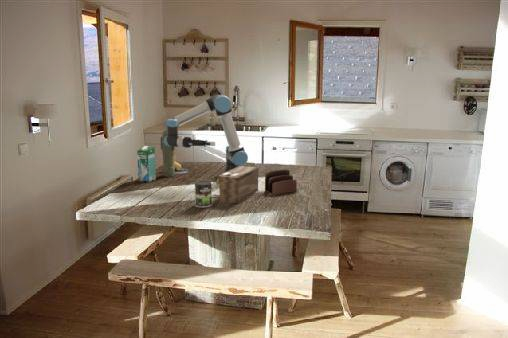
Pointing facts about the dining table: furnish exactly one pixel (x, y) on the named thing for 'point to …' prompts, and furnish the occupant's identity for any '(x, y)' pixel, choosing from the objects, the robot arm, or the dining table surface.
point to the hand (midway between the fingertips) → (214, 144)
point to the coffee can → (203, 194)
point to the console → (238, 184)
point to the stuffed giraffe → (177, 166)
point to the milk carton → (146, 163)
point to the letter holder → (279, 182)
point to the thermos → (167, 158)
